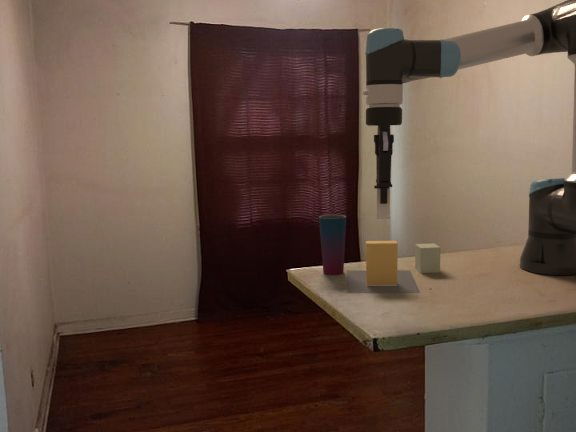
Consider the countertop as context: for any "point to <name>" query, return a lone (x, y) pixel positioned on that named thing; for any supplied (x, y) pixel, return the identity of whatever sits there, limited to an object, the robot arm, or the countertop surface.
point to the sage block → (427, 258)
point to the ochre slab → (381, 263)
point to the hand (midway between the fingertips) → (383, 218)
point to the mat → (358, 285)
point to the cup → (333, 243)
